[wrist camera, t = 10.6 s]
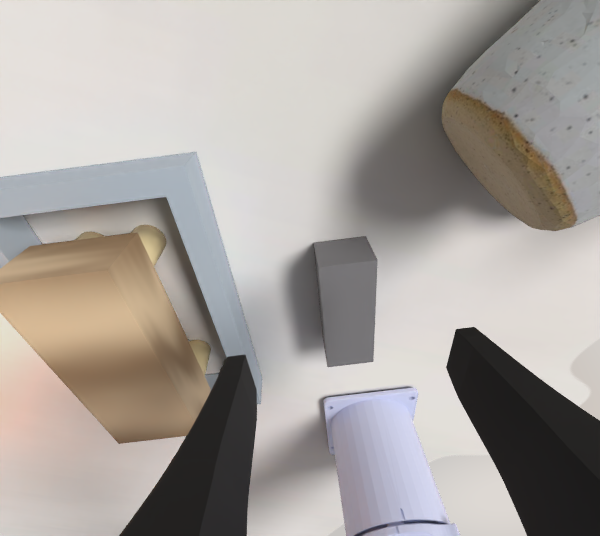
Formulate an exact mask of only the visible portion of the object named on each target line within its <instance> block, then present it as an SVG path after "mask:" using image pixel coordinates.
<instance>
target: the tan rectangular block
mask: <svg viewBox="0 0 600 536" xmlns="http://www.w3.org/2000/svg"><path fill="white" fill-rule="evenodd" d="M0 313H1V314H2V315H3V316H4V317H5V318H6V320H7V321H8V322H9V323H10V324H11V325H12V326H13V327H14V328H15V330H16V331H17V332H18V333H19V334H20V335H21V336H22V337H23V338H24V339H25V341H26V342H27V343H28V344H29V345H30V346H31V347H32V348H33V349H34V350H35V352H36V353H37V354H38V355H39V356H40V357H41V358H42V359H43V360H44V362H45V363H46V364H47V365H48V366H49V367H50V368H51V369H52V370H53V371H54V373H55V374H56V375H57V376H58V377H59V378H60V379H61V380H62V381H63V383H64V384H65V385H66V386H67V387H68V388H69V389H70V390H71V391H72V392H73V394H74V395H75V396H76V397H77V398H78V399H79V400H80V401H81V402H82V403H83V405H84V406H85V407H86V408H87V409H88V410H89V411H90V412H91V413H92V415H93V416H94V417H95V418H96V419H97V420H98V421H99V422H100V423H101V424H102V426H103V427H104V428H105V429H106V430H107V431H108V432H109V433H110V434H111V435H112V437H113V438H114V439H115V440H116V441H117V442H118V443H119V444H120V443H129V442H137V441H146V440H154V439H163V438H172V437H180V436H187V434H188V433H189V431H190V429H191V428H192V426H193V424H194V422H195V421H196V419H197V417H198V415H199V413H200V411H201V409H202V407H203V405H204V403H205V402H206V400H207V398H208V396H209V394H210V390H211V389H210V386H209V384H208V382H207V380H206V378H205V376H204V374H203V371H202V369H201V367H200V365H199V363H198V361H197V359H196V356H195V354H194V352H193V350H192V348H191V346H190V344H189V341H188V339H187V337H186V335H185V333H184V331H183V328H182V326H181V324H180V322H179V320H178V318H177V316H176V313H175V311H174V309H173V307H172V305H171V303H170V301H169V298H168V296H167V294H166V292H165V290H164V288H163V286H162V283H161V281H160V279H159V277H158V275H157V273H156V271H155V268H154V266H153V264H152V262H151V260H150V258H149V255H148V253H147V251H146V249H145V247H144V245H143V243H142V240H141V238H140V236H139V234H138V232H136V233H128V234H121V235H113V236H105V237H97V238H89V239H82V240H74V241H66V242H58V243H50V244H43V245H35V246H29V247H28V248H27V249H25V250H24V251H23V252H21V253H20V254H19V255H17V256H16V257H15V258H14V259H12V260H11V261H10V262H8V263H7V264H6V265H4V266H3V267H2V268H0Z"/></svg>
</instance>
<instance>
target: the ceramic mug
mask: <svg viewBox="0 0 600 536" xmlns="http://www.w3.org/2000/svg"><path fill="white" fill-rule="evenodd" d="M442 125H443V128H444V131H445V133H446V135H447V136H448V138H449V140H450V142H451V144H452V146H453V147H454V149H455V150H456V152H457V153H458V155H459V156H460V158H461V159H462V160H463V162H464V163H465V164H466V166H467V167H468V168H469V170H470V171H471V172H472V173H473V175H474V176H475V177H476V178H477V180H478V181H479V182H480V183H481V184H482V185H483V186H484V188H485V189H486V190H487V191H488V192H489V193H490V194H491V195H492V196H493V197H494V198H495V199H496V200H497V201H498V202H499V203H500V204H501V205H502V206H503V207H504V208H505V209H506V210H508V211H509V212H510V213H511V214H512V215H513V216H515V217H516V218H518V219H519V220H521V221H523V222H524V223H525V224H527V225H528V226H530V227H532V228H536V229H540V230H551V231H558V230H562V229H566V228H570V227H574V226H576V225H578V224H581V223H583V222H585V221H587V220H590V219H592V218H594V217H597V216H599V215H600V0H540V1H539V2H538V3H537V4H536V5H535V6H534V7H533V8H532V9H531V10H530V11H529V12H528V13H527V14H525V15H524V16H523V17H522V18H521V19H520V20H519V21H518V22H517V23H516V24H515V25H514V26H513V27H512V28H511V29H509V30H508V31H507V32H506V33H505V34H504V35H503V36H502V37H500V38H499V39H498V40H497V41H496V42H495V43H494V44H493V45H492V46H490V47H489V48H488V49H487V50H486V51H485V52H484V53H483V54H482V55H481V56H480V57H479V58H478V59H477V60H476V61H475V62H474V63H473V64H472V65H471V66H470V67H469V68H468V69H467V71H466V72H465V73H464V74H463V76H462V77H461V78H460V80H459V81H458V82H457V83H456V84H455V85H454V87H453V88H452V89H451V90H450V92H449V93H448V94H447V96H446V98H445V100H444V102H443V106H442Z"/></svg>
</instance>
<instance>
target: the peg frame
mask: <svg viewBox="0 0 600 536" xmlns="http://www.w3.org/2000/svg"><path fill="white" fill-rule="evenodd" d="M161 197H166V198H167V200H168V203H169V206H170V208H171V211H172V214H173V216H174V219H175V222H176V224H177V227H178V230H179V232H180V235H181V238H182V240H183V243H184V246H185V248H186V251H187V253H188V256H189V259H190V261H191V264H192V267H193V269H194V272H195V275H196V277H197V280H198V283H199V285H200V288H201V291H202V293H203V296H204V299H205V301H206V304H207V307H208V309H209V312H210V315H211V317H212V320H213V323H214V325H215V328H216V331H217V333H218V336H219V339H220V341H221V344H222V347H223V349H224V352H225V355H226V357H228V356H236V355H246V358H247V361H248V364H249V367H250V370H251V373H252V377H253V380H254V383H255V386H256V389H257V404H261V392H262V376H261V372H260V369H259V365H258V362H257V359H256V355H255V352H254V348H253V345H252V341H251V338H250V335H249V331H248V328H247V324H246V321H245V317H244V314H243V311H242V307H241V304H240V300H239V297H238V293H237V290H236V287H235V283H234V280H233V276H232V273H231V269H230V266H229V263H228V259H227V256H226V252H225V249H224V245H223V242H222V239H221V235H220V232H219V228H218V225H217V221H216V218H215V215H214V211H213V208H212V204H211V201H210V197H209V194H208V191H207V187H206V184H205V180H204V177H203V173H202V170H201V167H200V163H199V160H198V156H197V153H196V152H192V153H184V154H177V155H169V156H161V157H154V158H146V159H138V160H130V161H123V162H115V163H107V164H100V165H92V166H84V167H76V168H69V169H61V170H53V171H46V172H38V173H30V174H22V175H15V176H7V177H0V268H2V267H3V266H4V265H6V264H7V263H8V262H10V261H11V260H12V259H14V258H15V257H16V256H17V255H19V254H20V253H21V252H23V251H24V250H25V249H27V248H28V247H29V246H35V245H42V243H41V242H40V240H39V239H38V237H37V236H36V234H35V233H34V231H33V230H32V228H31V227H30V226H29V224H28V223H27V221H26V220H25V218H24V217H23V215H28V214H35V213H43V212H51V211H59V210H67V209H75V208H82V207H90V206H98V205H106V204H114V203H122V202H129V201H137V200H145V199H153V198H161ZM136 232H138V234H139V236H140V238H141V240H142V243H143V245H144V247H145V249H146V251H147V253H148V255H149V258H150V260H151V262H152V264H153V266H154V265H155V264H156V262H157V260H158V259H159V257H160V255H161V253H162V252H163V250H164V248H165V247H166V238H165V236H164V234H163V233H162V232H161V231H160V230H159V229H157V228H156V227H153V226H150V225H140V226H138V227H136V228H135V229H134V230H133V231H132V232H131V233H136ZM97 237H104V236H103V235H101V234H99V233H95V232H85V233H82V234H81V235H80V236H79V237H78V238H76V239H75V240H82V239H89V238H97ZM189 344H190V346H191V348H192V350H193V352H194V354H195V356H196V359H197V361H198V363H199V365H200V367H201V369H202V371H203V374H204V376H205V378H206V380H207V382H208V384H209V386H210V389H211V390H212V388H213V386H214V383H215V381H216V379H217V377H218V375H219V373H218V374H209V375H205V373H206V368H207V364H208V360H209V355H210V351H211V348H210V346H209V345H208V344H207V343H206V342H204V341H201V340H192V341H189ZM211 390H210V392H211Z"/></svg>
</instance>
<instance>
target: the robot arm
mask: <svg viewBox="0 0 600 536" xmlns="http://www.w3.org/2000/svg"><path fill="white" fill-rule="evenodd" d="M446 368H447V371H448V373H449V376H450V378H451V381H452V384H453V386H454V388H455V391H456V393H457V395H458V398H459V400H460V401H461V403H462V405H463V407H464V409H465V411H466V413H467V414H468V416H469V418H470V420H471V422H472V424H473V425H474V427H475V429H476V431H477V433H478V434H479V436H480V438H481V440H482V442H483V443H484V445H485V447H486V449H487V451H488V453H489V454H490V456H491V458H492V460H493V462H494V463H495V465H496V467H497V469H498V471H499V473H500V475H501V477H502V479H503V481H504V483H505V485H506V488H507V490H508V492H509V495H510V497H511V499H512V501H513V503H514V505H515V508H516V510H517V512H518V515H519V517H520V519H521V522H522V524H523V526H524V529H525V531H526V534H527V536H600V421H599V420H598V419H596V418H595V417H593V416H592V415H590V414H589V413H587V412H586V411H584V410H583V409H581V408H580V407H578V406H577V405H576V404H574V403H573V402H571V401H570V400H568V399H567V398H566V397H564V396H563V395H561V394H560V393H558V392H557V391H556V390H554V389H553V388H552V387H550V386H549V385H548V384H546V383H545V382H543V381H542V380H541V379H539V378H538V377H537V376H536V375H534V374H533V373H532V372H530V371H529V370H528V369H526V368H525V367H524V366H522V365H521V364H520V363H519V362H517V361H516V360H515V359H514V358H512V357H511V356H510V355H509V354H507V353H506V352H505V351H503V350H502V349H501V348H500V347H499V346H497V345H496V344H495V343H494V342H492V341H491V340H490V339H489V338H487V337H486V336H485V335H484V334H482V333H481V332H480V331H479V330H477V329H476V328H475V327H471V328H462V329H456V332H455V335H454V339H453V343H452V347H451V351H450V355H449V359H448V363H447V367H446ZM417 398H418V391H417V389H416V388H404V389H395V390H387V391H378V392H370V393H361V394H353V395H344V396H336V397H328V398H325V399H324V401H323V402H324V411H325V420H326V428H327V437H328V446H329V453H330V454H332V455H335V460H336V467H337V474H338V481H339V488H340V495H341V502H342V509H343V516H344V523H345V530H346V536H460V534H459V531H458V529H457V526H456V524H455V523H453V524H450V521H449V518H448V515H447V513H446V510H445V507H444V505H443V502H442V499H441V496H440V494H439V492H438V488H437V486H436V483H435V480H434V478H433V475H432V472H431V469H430V467H429V464H428V461H427V458H426V456H425V453H424V450H423V448H422V445H421V442H420V439H419V437H418V434H417V431H416V429H415V426H414V423H413V419H414V414H415V409H416V403H417ZM256 421H257V389H256V386H255V383H254V380H253V377H252V373H251V370H250V367H249V364H248V361H247V358H246V355H236V356H228V357H227V358H226V359H225V361H224V364H223V366H222V368H221V370H220V373H219V375H218V377H217V379H216V381H215V383H214V386H213V388H212V390H211V392H210V394H209V396H208V398H207V400H206V402H205V403H204V405H203V407H202V409H201V411H200V413H199V415H198V417H197V419H196V421H195V422H194V424H193V426H192V428H191V429H190V431H189V433H188V434H187V436H186V438H185V440H184V441H183V443H182V445H181V446H180V448H179V450H178V452H177V453H176V455H175V456H174V458H173V460H172V461H171V463H170V464H169V466H168V467H167V469H166V471H165V472H164V474H163V475H162V477H161V478H160V480H159V481H158V483H157V484H156V486H155V487H154V489H153V490H152V491H151V493H150V494H149V496H148V497H147V498H146V500H145V501H144V503H143V504H142V505H141V507H140V508H139V510H138V511H137V512H136V514H135V515H134V517H133V518H132V519H131V521H130V522H129V523H128V525H127V526H126V527H125V529H124V530H123V531H122V533H121V534H120V535H119V536H247V507H248V494H249V485H250V476H251V467H252V458H253V449H254V440H255V431H256Z"/></svg>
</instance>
